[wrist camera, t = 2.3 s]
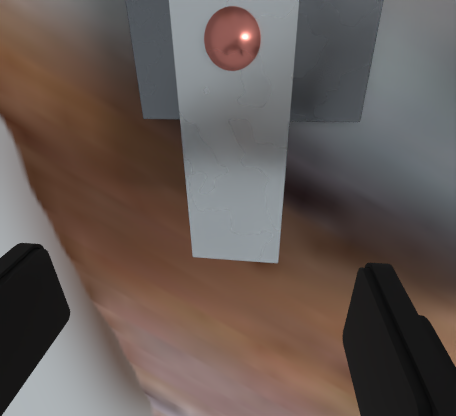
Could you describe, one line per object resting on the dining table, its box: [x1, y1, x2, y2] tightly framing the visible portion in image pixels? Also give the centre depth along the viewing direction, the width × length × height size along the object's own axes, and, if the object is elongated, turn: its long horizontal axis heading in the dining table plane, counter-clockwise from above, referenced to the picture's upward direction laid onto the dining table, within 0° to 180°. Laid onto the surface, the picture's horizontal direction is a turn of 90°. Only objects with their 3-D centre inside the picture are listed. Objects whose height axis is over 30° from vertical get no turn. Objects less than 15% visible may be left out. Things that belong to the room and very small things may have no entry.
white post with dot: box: [169, 0, 299, 263], centre depth 12 cm, size 4×14×4 cm, turn 1°
